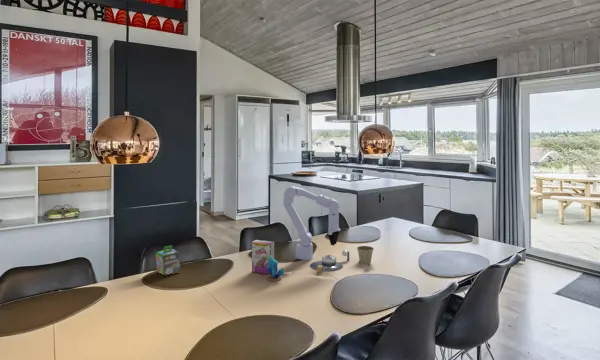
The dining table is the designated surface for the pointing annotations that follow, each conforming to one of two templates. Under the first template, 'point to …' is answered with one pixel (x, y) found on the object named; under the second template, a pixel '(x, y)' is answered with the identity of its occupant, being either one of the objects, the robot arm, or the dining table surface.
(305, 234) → the robot arm
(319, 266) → the turntable
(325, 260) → the cover
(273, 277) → the gemstone
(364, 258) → the flower pot
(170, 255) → the chalk box
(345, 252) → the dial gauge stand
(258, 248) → the candy bar box
